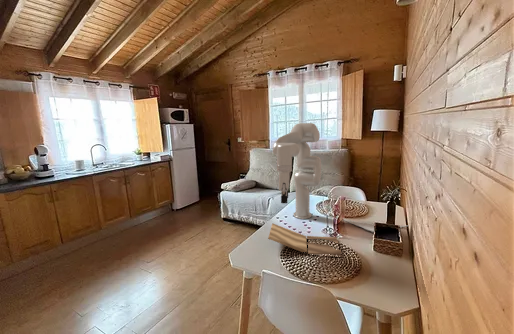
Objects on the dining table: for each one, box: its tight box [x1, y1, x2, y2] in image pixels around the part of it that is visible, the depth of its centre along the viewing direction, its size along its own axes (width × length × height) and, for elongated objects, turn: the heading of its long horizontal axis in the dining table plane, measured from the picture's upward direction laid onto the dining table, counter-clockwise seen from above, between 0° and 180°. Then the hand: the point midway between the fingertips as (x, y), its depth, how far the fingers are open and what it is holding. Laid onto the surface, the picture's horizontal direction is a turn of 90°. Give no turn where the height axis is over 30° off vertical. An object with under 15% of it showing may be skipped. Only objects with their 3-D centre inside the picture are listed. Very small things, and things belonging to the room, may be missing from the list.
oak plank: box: [267, 223, 308, 253], centre depth 127 cm, size 16×20×2 cm
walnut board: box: [306, 235, 342, 255], centre depth 124 cm, size 18×16×2 cm
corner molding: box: [343, 218, 409, 233], centre depth 155 cm, size 30×2×30 cm
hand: (284, 200), depth 127 cm, fingers open, 8 cm apart
